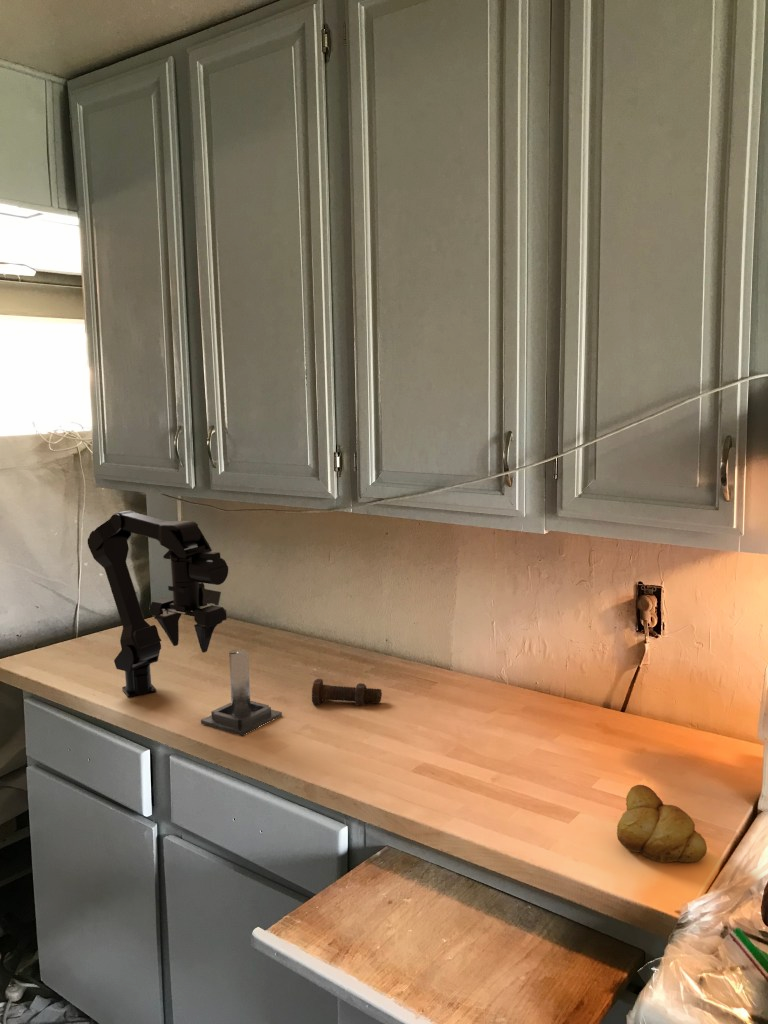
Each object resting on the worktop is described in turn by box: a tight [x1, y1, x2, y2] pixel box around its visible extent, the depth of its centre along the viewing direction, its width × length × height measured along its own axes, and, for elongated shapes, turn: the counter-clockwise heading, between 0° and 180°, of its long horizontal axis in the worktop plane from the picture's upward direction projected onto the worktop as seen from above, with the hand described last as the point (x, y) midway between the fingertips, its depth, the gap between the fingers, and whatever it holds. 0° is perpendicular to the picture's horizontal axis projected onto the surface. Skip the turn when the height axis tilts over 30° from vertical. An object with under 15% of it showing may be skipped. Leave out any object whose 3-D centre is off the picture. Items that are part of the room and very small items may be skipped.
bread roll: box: [616, 784, 708, 863], centre depth 123 cm, size 13×10×8 cm
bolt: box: [311, 678, 383, 707], centre depth 184 cm, size 6×5×15 cm
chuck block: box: [200, 700, 283, 737], centre depth 177 cm, size 12×12×2 cm
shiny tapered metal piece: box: [228, 648, 251, 718], centre depth 176 cm, size 4×4×14 cm
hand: (190, 648), depth 184 cm, fingers open, 9 cm apart
